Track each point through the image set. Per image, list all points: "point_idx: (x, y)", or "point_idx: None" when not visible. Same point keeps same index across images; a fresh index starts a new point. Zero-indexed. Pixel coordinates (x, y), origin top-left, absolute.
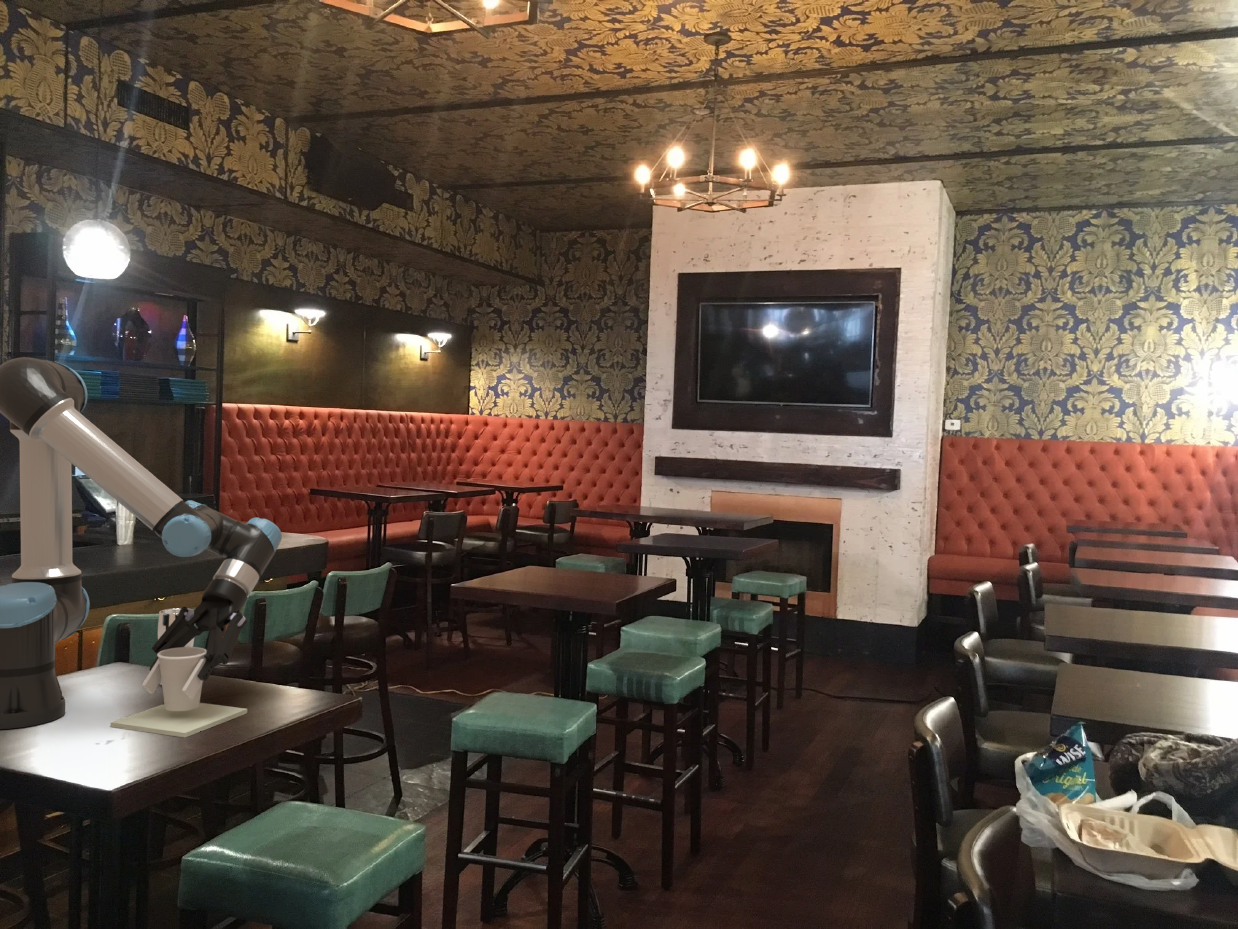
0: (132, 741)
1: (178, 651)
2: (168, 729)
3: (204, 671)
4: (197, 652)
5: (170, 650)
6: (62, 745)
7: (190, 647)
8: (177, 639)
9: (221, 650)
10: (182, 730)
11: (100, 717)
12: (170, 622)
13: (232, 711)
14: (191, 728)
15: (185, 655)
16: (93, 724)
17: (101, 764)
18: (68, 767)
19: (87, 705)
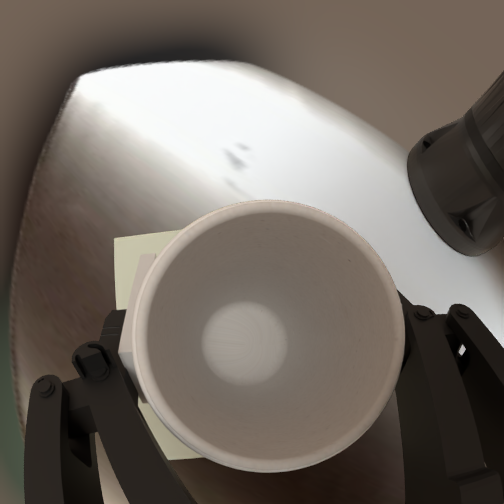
0: (196, 178)
1: (376, 382)
2: (166, 238)
3: (109, 329)
4: (292, 447)
5: (391, 338)
6: (283, 123)
7: (347, 437)
8: (429, 388)
9: (39, 411)
10: (131, 247)
11: (392, 256)
12: None
13: (153, 428)
14: (125, 269)
15: (343, 407)
16: (360, 218)
17: (149, 99)
18: (182, 80)
19: (461, 293)
